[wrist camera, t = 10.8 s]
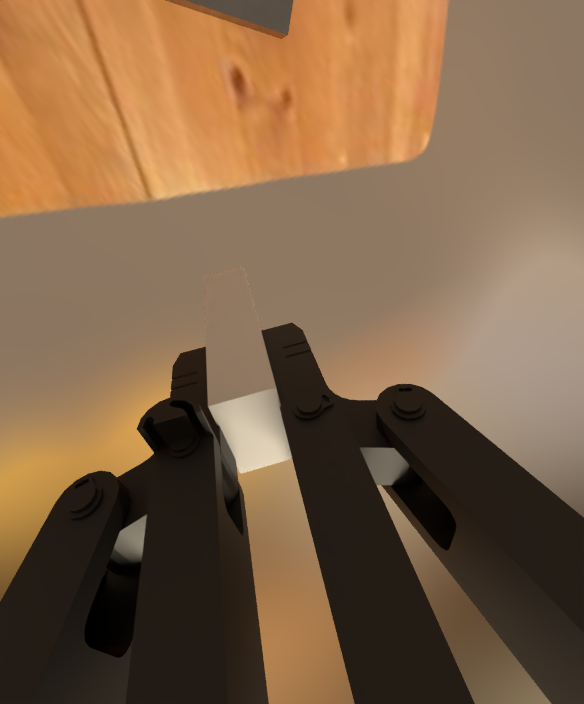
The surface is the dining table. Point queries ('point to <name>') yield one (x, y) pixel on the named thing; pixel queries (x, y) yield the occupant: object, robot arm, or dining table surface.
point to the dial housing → (247, 13)
